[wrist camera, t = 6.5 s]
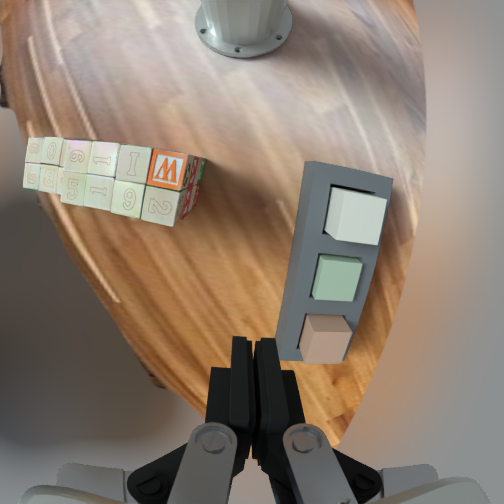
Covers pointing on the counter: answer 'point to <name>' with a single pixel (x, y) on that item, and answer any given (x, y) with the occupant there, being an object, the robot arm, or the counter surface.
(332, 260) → the key sage
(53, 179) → the stack of blocks
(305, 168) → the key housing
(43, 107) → the counter surface
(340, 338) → the beige cube
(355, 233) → the key cream
